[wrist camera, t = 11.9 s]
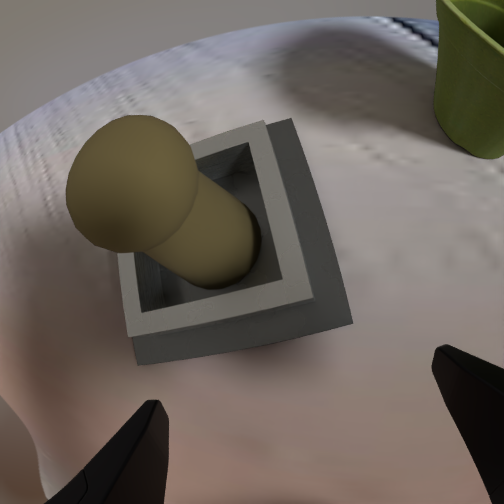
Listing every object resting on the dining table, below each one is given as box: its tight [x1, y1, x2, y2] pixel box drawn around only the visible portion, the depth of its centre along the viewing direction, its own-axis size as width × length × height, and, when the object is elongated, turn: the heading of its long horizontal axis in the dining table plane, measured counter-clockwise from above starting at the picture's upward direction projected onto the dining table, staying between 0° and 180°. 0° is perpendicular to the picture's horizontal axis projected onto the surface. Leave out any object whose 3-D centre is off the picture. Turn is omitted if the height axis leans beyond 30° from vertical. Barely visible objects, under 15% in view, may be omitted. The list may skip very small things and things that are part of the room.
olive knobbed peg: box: [66, 115, 261, 290], centre depth 14 cm, size 6×6×11 cm
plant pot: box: [433, 0, 504, 159], centre depth 12 cm, size 12×12×11 cm
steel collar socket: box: [117, 118, 353, 365], centre depth 18 cm, size 14×14×4 cm
